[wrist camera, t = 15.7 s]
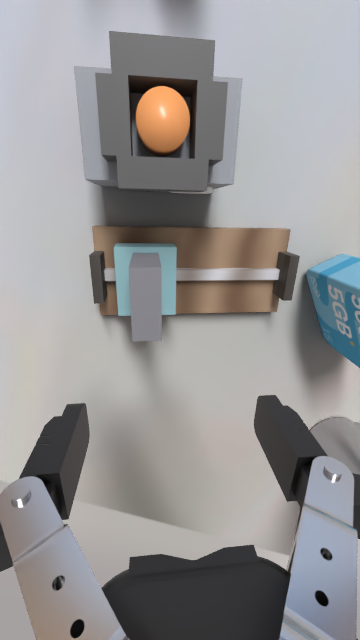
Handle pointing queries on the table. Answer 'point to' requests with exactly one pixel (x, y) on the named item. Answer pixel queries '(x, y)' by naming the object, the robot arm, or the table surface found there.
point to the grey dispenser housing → (121, 105)
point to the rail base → (206, 267)
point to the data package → (338, 303)
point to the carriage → (146, 286)
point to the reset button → (162, 121)
